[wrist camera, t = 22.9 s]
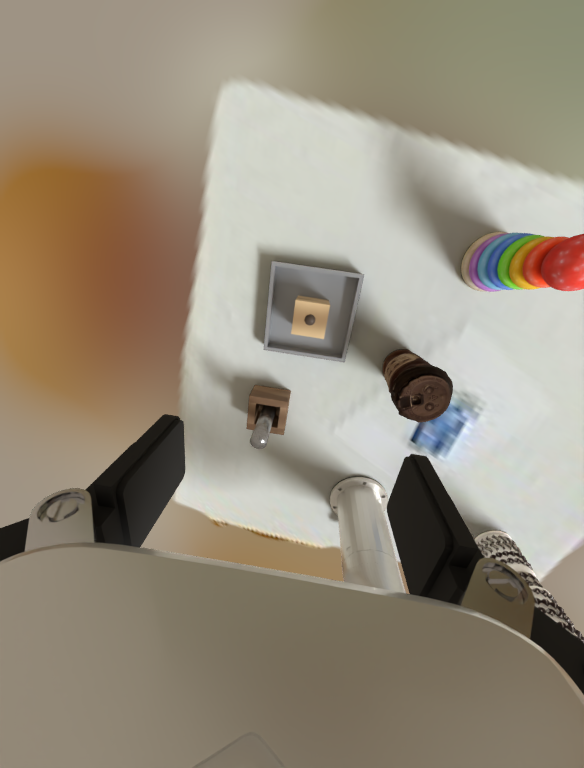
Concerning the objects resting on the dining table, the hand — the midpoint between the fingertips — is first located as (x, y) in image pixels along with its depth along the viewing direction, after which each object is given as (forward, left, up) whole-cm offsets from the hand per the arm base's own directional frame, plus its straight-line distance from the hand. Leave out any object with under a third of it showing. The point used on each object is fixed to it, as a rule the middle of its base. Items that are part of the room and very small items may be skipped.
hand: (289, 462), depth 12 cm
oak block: (0, 0, -38) cm, 38 cm away
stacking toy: (+11, -25, -38) cm, 47 cm away
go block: (-19, +5, -39) cm, 43 cm away
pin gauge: (-19, +5, -38) cm, 42 cm away
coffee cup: (-7, -17, -38) cm, 43 cm away
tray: (0, 0, -38) cm, 38 cm away
